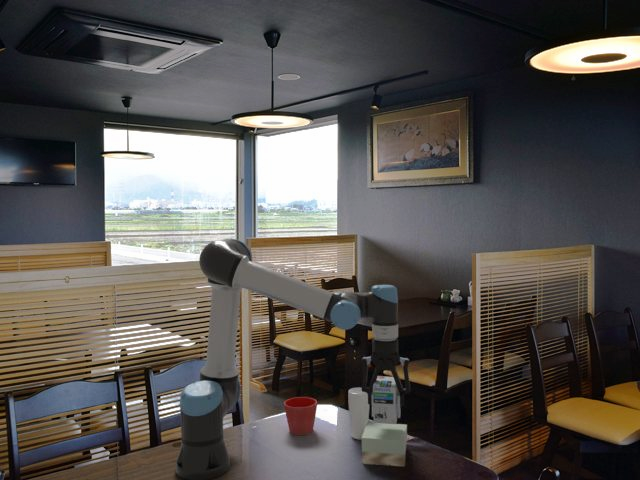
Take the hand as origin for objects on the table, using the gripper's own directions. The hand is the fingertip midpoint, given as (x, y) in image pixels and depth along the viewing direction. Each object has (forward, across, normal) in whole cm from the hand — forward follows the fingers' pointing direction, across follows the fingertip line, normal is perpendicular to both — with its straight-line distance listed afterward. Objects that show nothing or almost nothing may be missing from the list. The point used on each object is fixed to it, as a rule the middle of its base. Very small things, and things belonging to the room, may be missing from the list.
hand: (386, 415), depth 161 cm
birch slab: (+13, 0, 0) cm, 13 cm away
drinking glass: (+12, -9, +12) cm, 20 cm away
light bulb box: (+1, 0, 0) cm, 1 cm away
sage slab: (+9, 0, 0) cm, 9 cm away
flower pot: (+12, -29, +15) cm, 35 cm away
